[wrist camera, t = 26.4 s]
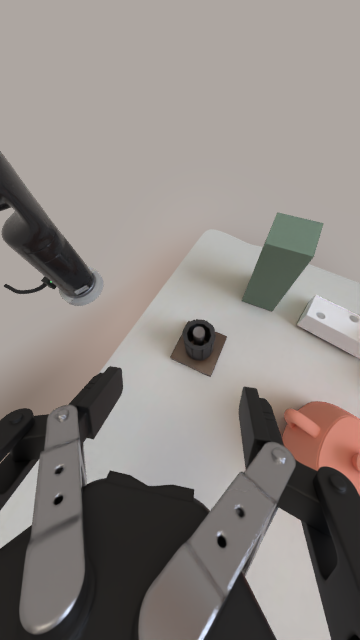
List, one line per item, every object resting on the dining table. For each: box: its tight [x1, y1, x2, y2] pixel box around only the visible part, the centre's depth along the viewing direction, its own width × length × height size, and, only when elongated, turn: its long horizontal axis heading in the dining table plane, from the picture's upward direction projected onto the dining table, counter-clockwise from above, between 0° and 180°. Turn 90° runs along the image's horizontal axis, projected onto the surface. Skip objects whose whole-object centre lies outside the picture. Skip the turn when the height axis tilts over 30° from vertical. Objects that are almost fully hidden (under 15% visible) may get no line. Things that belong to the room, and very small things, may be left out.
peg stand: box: [171, 321, 227, 377], centre depth 39 cm, size 9×9×10 cm
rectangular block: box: [242, 213, 323, 311], centre depth 39 cm, size 7×7×18 cm
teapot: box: [282, 401, 360, 495], centre depth 29 cm, size 13×20×12 cm
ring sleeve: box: [182, 319, 216, 361], centre depth 39 cm, size 6×6×8 cm
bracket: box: [297, 295, 360, 359], centre depth 39 cm, size 13×7×8 cm, turn 54°
